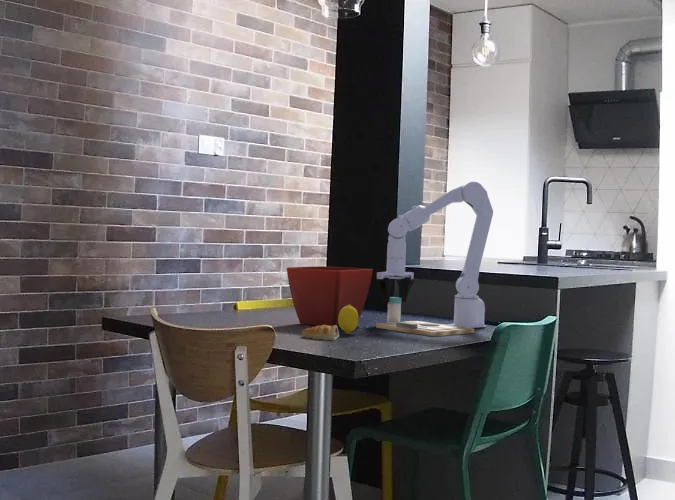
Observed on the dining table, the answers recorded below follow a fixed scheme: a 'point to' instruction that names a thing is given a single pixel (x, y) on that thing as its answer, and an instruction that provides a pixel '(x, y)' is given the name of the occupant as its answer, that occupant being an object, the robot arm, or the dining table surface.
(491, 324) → the dining table surface
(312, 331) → the pastry
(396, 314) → the white jar teal lid
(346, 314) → the lemon
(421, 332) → the clipboard
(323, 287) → the plant pot
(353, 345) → the dining table surface
